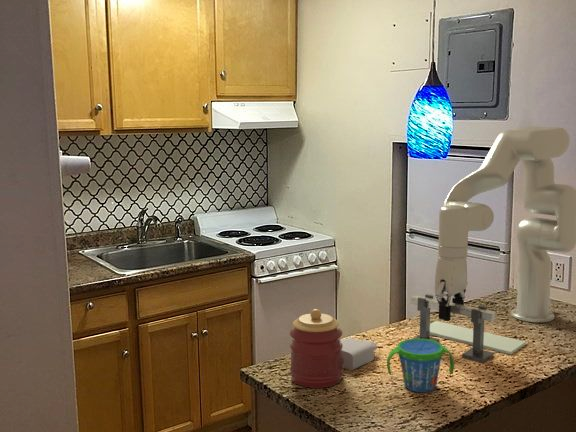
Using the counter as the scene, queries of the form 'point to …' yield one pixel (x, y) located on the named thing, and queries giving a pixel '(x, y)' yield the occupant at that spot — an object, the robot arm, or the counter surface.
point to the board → (466, 337)
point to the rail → (456, 308)
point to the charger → (357, 353)
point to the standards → (478, 331)
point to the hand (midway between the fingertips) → (451, 315)
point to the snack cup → (420, 363)
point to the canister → (316, 350)
